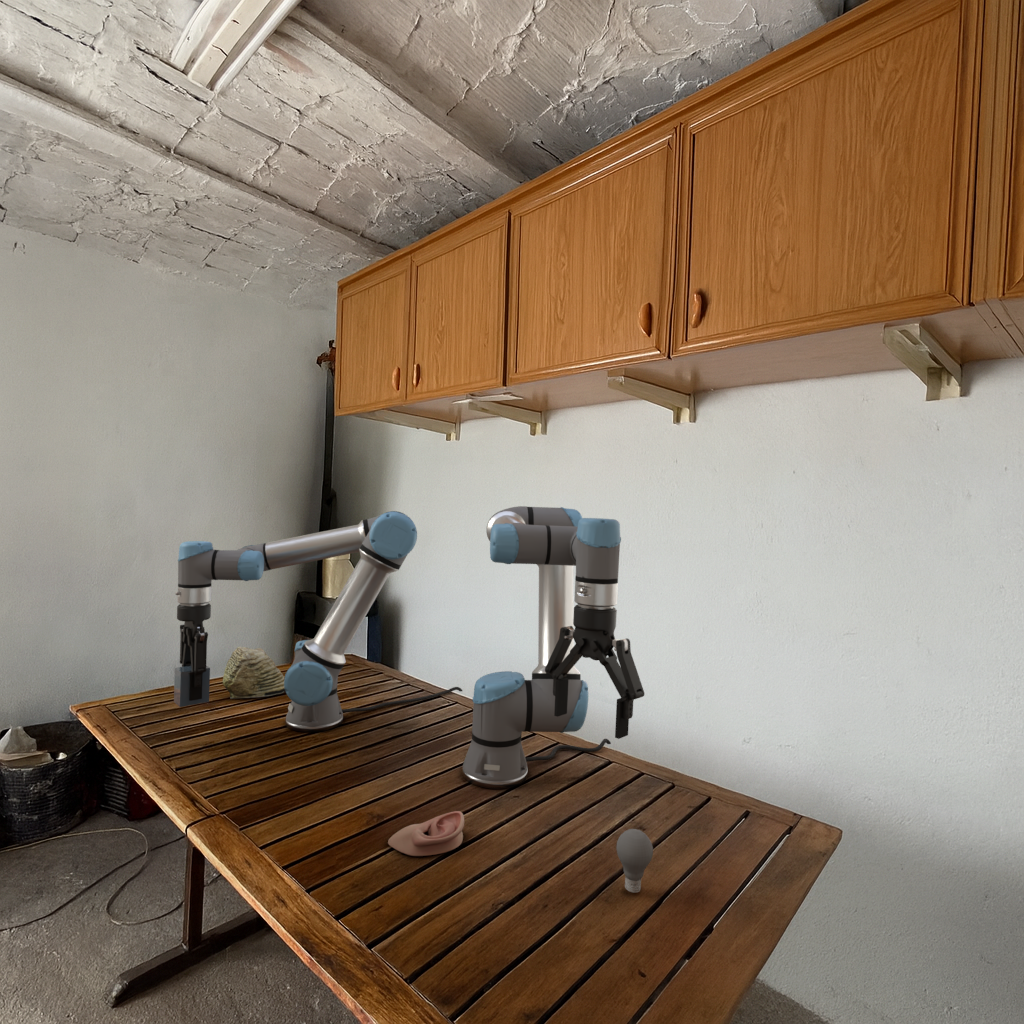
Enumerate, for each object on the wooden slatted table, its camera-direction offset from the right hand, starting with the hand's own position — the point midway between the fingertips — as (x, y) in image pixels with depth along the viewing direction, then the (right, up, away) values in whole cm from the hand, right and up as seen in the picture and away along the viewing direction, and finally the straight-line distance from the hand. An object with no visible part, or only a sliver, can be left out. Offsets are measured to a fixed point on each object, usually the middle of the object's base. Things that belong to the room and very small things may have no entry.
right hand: (589, 725), depth 112 cm
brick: (-94, -10, +46) cm, 105 cm away
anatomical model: (-30, -24, +6) cm, 39 cm away
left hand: (-94, -8, +46) cm, 105 cm away
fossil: (-94, -20, +86) cm, 129 cm away
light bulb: (+6, -26, -6) cm, 27 cm away
